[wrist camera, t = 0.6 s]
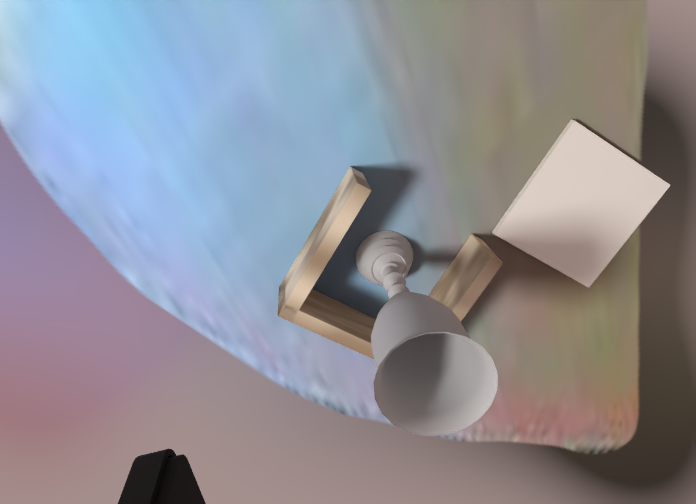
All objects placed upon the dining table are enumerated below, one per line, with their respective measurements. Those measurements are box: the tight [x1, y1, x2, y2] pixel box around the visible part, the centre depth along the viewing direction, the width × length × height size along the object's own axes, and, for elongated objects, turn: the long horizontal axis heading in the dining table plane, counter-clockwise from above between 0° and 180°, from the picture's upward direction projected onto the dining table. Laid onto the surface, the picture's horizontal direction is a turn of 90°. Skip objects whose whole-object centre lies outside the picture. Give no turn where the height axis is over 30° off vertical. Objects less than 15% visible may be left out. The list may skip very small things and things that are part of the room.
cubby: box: [278, 166, 503, 359], centre depth 44 cm, size 12×13×5 cm
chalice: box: [356, 231, 498, 436], centre depth 38 cm, size 7×7×18 cm
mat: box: [492, 119, 670, 288], centre depth 46 cm, size 11×11×1 cm
